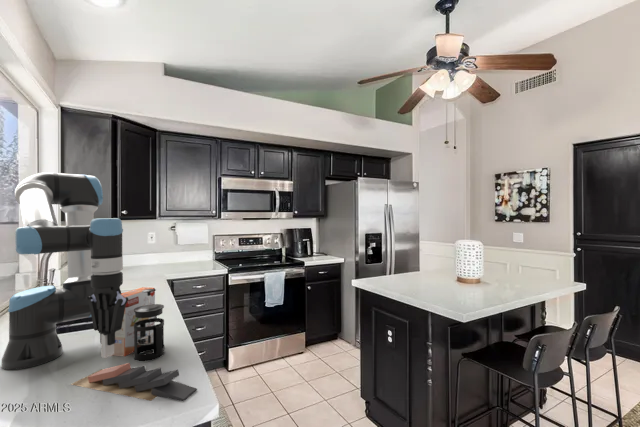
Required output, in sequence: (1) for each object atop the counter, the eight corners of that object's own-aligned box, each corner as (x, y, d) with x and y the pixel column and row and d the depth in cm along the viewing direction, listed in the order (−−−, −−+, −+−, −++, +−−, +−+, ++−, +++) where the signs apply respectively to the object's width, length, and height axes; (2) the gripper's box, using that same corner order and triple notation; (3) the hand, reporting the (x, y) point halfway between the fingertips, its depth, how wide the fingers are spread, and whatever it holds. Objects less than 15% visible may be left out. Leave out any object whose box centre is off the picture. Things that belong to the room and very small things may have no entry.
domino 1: (102, 379, 87) (129, 374, 84) (118, 371, 92) (144, 365, 89) (103, 385, 87) (130, 380, 84) (119, 376, 91) (145, 371, 89)
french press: (126, 359, 105) (126, 290, 105) (155, 349, 112) (154, 284, 112) (144, 369, 98) (144, 295, 98) (173, 357, 106) (172, 289, 106)
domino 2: (118, 382, 85) (146, 376, 82) (133, 373, 90) (160, 367, 87) (119, 388, 85) (147, 382, 82) (135, 379, 90) (162, 373, 87)
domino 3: (134, 386, 83) (163, 378, 81) (149, 376, 88) (177, 369, 86) (136, 392, 83) (165, 384, 81) (151, 382, 88) (179, 375, 85)
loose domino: (105, 374, 93) (131, 368, 90) (89, 382, 88) (115, 376, 85) (104, 368, 93) (129, 362, 90) (87, 377, 88) (113, 371, 86)
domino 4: (151, 388, 82) (183, 399, 79) (166, 378, 87) (196, 388, 84) (151, 394, 82) (183, 405, 79) (165, 384, 87) (196, 394, 84)
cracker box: (126, 359, 105) (125, 296, 105) (110, 358, 106) (110, 295, 106) (156, 342, 118) (155, 287, 119) (142, 341, 120) (141, 286, 120)
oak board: (70, 387, 88) (70, 384, 88) (101, 372, 96) (101, 369, 96) (151, 404, 79) (151, 400, 79) (177, 385, 88) (177, 382, 88)
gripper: (76, 273, 88) (77, 358, 88) (112, 275, 84) (113, 364, 84) (102, 269, 95) (103, 347, 95) (136, 271, 91) (137, 352, 91)
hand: (107, 355), depth 89 cm, fingers closed
